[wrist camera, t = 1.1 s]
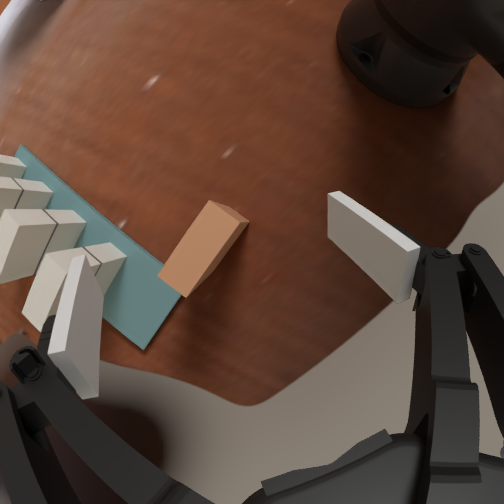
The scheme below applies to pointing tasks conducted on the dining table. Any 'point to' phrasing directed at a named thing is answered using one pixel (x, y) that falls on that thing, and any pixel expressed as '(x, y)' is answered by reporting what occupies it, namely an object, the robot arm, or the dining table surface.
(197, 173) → the dining table surface
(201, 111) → the dining table surface
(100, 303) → the robot arm
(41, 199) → the domino
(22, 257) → the domino
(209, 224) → the terracotta domino
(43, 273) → the domino
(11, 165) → the domino
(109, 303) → the domino board
